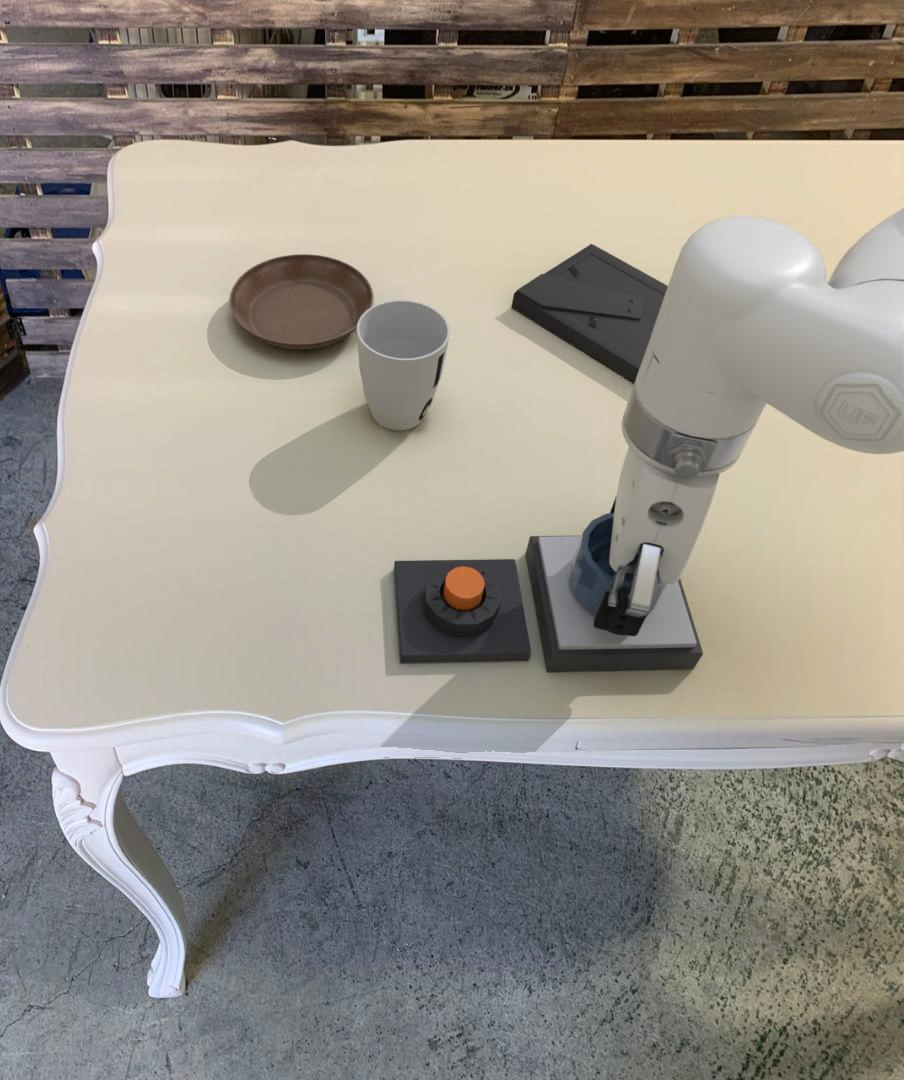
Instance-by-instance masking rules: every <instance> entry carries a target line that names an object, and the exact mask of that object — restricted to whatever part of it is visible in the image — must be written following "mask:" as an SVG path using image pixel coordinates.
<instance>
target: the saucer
mask: <svg viewBox="0 0 904 1080" xmlns="http://www.w3.org/2000/svg"><path fill="white" fill-rule="evenodd" d="M373 306H374V291H373V288H372V285H371V284H370V282H369V280H368V279H367V278H366V277H365V275H364V274H363V273H362V272H361V271H360V270H359V269H357V268H355V267H354V266H352V265H350V264H349V263H347V262H344V261H342V260H339V259H337V258H333V257H330V256H325V255H320V254H311V253H309V254H307V253H306V254H305V253H301V254H299V253H297V254H289V255H283V256H277V257H273V258H270V259H268V260H264V261H262V262H260V263H258V264H256V265H254V266H252V267H251V268H249V269H248V270H246V271H245V272H244V273H242V274H241V275H240V276H239V277H238V279H237V280H236V282H235V283H234V284H233V286H232V288H231V290H230V294H229V308H230V311H231V314H232V315H233V317H234V319H235V320H236V321H237V323H238V324H239V325H240V326H241V327H242V328H243V329H245V331H247V332H248V333H249V334H250V335H252V336H253V337H255V338H257V339H258V340H260V341H263V342H264V343H267V344H269V345H271V346H275V347H279V348H281V349H288V350H313V349H319V348H323V347H326V346H329V345H332V344H334V343H336V342H339V341H341V340H342V339H344V338H346V337H347V336H349V335H350V334H352V333H353V332H354V331H355V330H357V324H358V321H359V319H360V317H361V316H362V315H363V313H364V312H366V311H367V310H368V309H369V308H371V307H373Z"/></svg>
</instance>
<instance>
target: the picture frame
mask: <svg viewBox="0 0 904 1080" xmlns="http://www.w3.org/2000/svg"><path fill="white" fill-rule="evenodd" d="M667 288H668V285H667V284H665V283H664V282H661V281H660V280H658V279H656V278H654V277H653V276H652V275H649V274H648V273H646V272H644V271H642V270H640V269H638V268H636V267H635V266H633V265H631V264H629V263H628V262H626V261H623V260H622V259H621V258H618V257H617V256H615V255H613V254H612V253H609V252H607V251H606V250H604V249H602V248H601V247H599V246H597V245H595V244H593V243H590V244H588V245H586V247H584V248H582V249H581V250H579V251H578V252H576V253H575V254H573V255H571V256H569V257H568V258H566V259H565V260H563V261H561V262H560V263H559V264H557V265H555V266H554V267H553V268H551V269H550V270H548V271H546V272H545V273H541V274H539V275H537V276H536V277H535V278H533V279H532V280H530V281H529V282H527V283H526V284H524V285H522V286H521V287H519V288H518V289H517V290H516V291H515V292H513V296H512V303H511V306H510V307H511V309H513V310H514V311H516V312H518V313H520V314H521V315H523V316H524V317H526V318H528V319H530V320H531V321H533V322H534V323H536V324H538V325H539V326H541V327H542V328H544V329H545V330H547V331H549V332H551V333H552V334H554V335H555V336H557V337H559V338H560V339H562V340H564V341H565V342H567V343H568V344H570V345H571V346H573V347H575V348H576V349H578V350H580V351H581V352H583V353H584V354H586V355H588V356H589V357H591V358H592V359H594V360H596V361H598V362H599V363H601V364H602V365H604V366H606V367H607V368H608V369H610V370H612V371H613V372H615V373H617V374H618V375H620V376H622V377H623V378H625V379H627V380H628V381H630V382H632V383H633V384H634V383H635V380H636V377H637V375H638V372H639V369H640V366H641V363H642V360H643V357H644V355H645V352H646V349H647V346H648V343H649V340H650V338H651V335H652V331H653V328H654V325H655V323H656V320H657V317H658V314H659V311H660V308H661V305H662V302H663V299H664V296H665V293H666V290H667Z"/></svg>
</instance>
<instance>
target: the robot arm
mask: <svg viewBox="0 0 904 1080" xmlns="http://www.w3.org/2000/svg"><path fill="white" fill-rule="evenodd" d="M667 286H668V288H667V290H666V293H665V296H664V299H663V302H662V305H661V308H660V311H659V314H658V317H657V320H656V323H655V325H654V328H653V331H652V335H651V338H650V340H649V343H648V346H647V349H646V352H645V355H644V357H643V360H642V363H641V366H640V369H639V372H638V375H637V377H636V380H635V383H633V385H632V389H631V391H630V395H629V398H628V401H627V403H626V407H625V410H624V412H623V415H622V418H621V432H622V435H623V437H624V441H625V443H626V444H627V446H628V447H627V451H626V453H625V456H624V460H623V463H622V467H621V471H620V474H619V475H620V476H619V480H618V484H617V485H618V486H617V491H616V495H615V498H614V501H613V504H612V506H611V509H610V511H609V513H614V520H613V529H612V538H611V547H610V558H609V563H610V566H611V567H612V569H613V570H614V571H615V575H614V579H613V583H612V587H611V591H608V592H607V591H606V592H605V594H604V596H603V599H602V601H601V604H600V606H599V609H598V611H597V613H596V616H595V618H594V627H595V628H598V629H602V630H607V631H608V632H610V633H613V634H617V635H628V636H636V635H637V634H638V632H639V630H640V628H641V626H642V624H643V622H644V620H645V618H646V616H647V615H648V614H649V611H650V608H651V604H652V600H653V596H654V593H655V589H656V585H657V581H658V578H659V576H660V580H661V583H667V584H674V583H676V582H677V581H678V580H679V579H681V578H682V575H683V573H684V570H685V568H686V566H687V564H688V562H689V559H690V557H691V555H692V552H693V550H694V547H695V546H696V543H697V540H698V538H699V536H700V533H701V531H702V529H703V526H704V524H705V521H706V519H707V515H708V513H709V510H710V508H711V504H712V501H713V499H714V495H715V491H716V489H717V485H718V483H719V482H718V481H719V478H720V474H722V473H724V472H726V471H727V470H729V469H730V468H732V467H733V466H734V465H735V464H736V463H737V461H738V460H739V459H740V457H741V455H742V453H743V451H744V448H745V446H746V445H747V443H748V440H749V439H750V437H751V435H752V433H753V431H754V429H755V427H756V425H757V423H758V421H759V419H760V417H761V415H762V413H763V412H764V409H765V408H766V405H769V406H771V408H773V409H775V410H777V411H778V412H780V413H781V414H783V415H784V416H786V417H787V418H788V419H791V420H792V421H793V422H795V423H797V424H798V425H800V426H801V427H803V428H804V429H806V430H808V431H810V433H812V434H815V435H816V436H818V437H819V438H822V439H823V440H826V441H828V442H829V443H832V444H834V445H836V446H839V447H841V448H844V449H847V450H851V451H854V452H856V453H862V454H868V455H869V454H870V455H891V454H896V453H902V452H904V207H903V208H901V209H899V210H898V211H896V212H895V213H893V214H891V215H889V216H888V217H886V218H885V219H883V220H882V221H881V222H879V223H877V224H876V225H875V226H874V227H872V228H871V229H870V230H869V231H867V232H866V233H865V234H863V235H862V236H861V237H860V238H859V239H858V240H857V241H855V243H854V244H853V245H852V246H851V247H850V248H848V249H847V251H846V252H845V253H844V254H843V255H842V257H841V259H840V260H839V261H838V263H837V265H836V267H835V268H834V270H833V272H832V274H831V276H830V277H829V280H828V281H827V268H826V264H825V260H824V257H823V255H822V253H821V252H820V250H819V248H818V247H817V246H816V245H815V244H814V243H813V242H812V240H811V239H809V238H808V237H807V235H805V234H803V233H802V232H800V231H799V230H797V229H795V228H793V227H792V226H790V225H788V224H785V223H782V222H780V221H778V220H774V219H769V218H765V217H760V216H754V215H753V216H752V215H733V216H727V217H722V218H718V219H714V220H712V221H709V222H707V223H706V224H704V225H702V226H701V227H699V228H697V229H696V230H695V231H694V232H693V233H692V234H691V235H690V236H689V237H688V239H687V240H686V242H684V244H683V245H682V247H681V249H680V251H679V254H678V257H677V259H676V262H675V264H674V267H673V270H672V273H671V276H670V279H669V281H668V285H667ZM636 554H638V558H637V563H636V564H634V563H630V562H631V561H632V560H634V558H635V556H636ZM625 573H626V574H631V575H634V578H633V583H632V588H631V591H630V592H629V591H624V590H621V588H622V584H623V580H624V576H625Z"/></svg>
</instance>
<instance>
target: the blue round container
mask: <svg viewBox="0 0 904 1080" xmlns="http://www.w3.org/2000/svg"><path fill="white" fill-rule="evenodd" d="M613 520H614V513H610V512H609V513H605V514H603V515H600V516H598V517H596V518H594V519H592V520H591V521H590V522H589V523H588V525H587V526H586V527H585V528H584V530H583V531H582V534H581V535H580V536H581V539H580V542H579V545H578V548H577V551H576V554H575V556H574V559H573V562H572V565H571V570H570V577H569V581H570V584H571V587H572V590H573V593H574V595H575V596H576V597H577V598H578V599H579V601H580V602H581V603H582V604H583V605H584V606H585V607H586V608H587V609H589V610H591V611H592V612H594V613H597V611H598V609H599V606H600V604H601V601H602V599H603V596H604V594H605V592H606V591H607V592H608V591H611V587H612V583H613V579H614V575H615V571H614V570H613V569H612V567H611V566H610V563H609V558H610V547H611V538H612V529H613ZM637 558H638V554H636V556H635V558H634V560H632V561H631V562H630V563H634V564H636V563H637ZM633 578H634V575H631V574H626V573H625V576H624V580H623V584H622V588H621V590H624V591H629V592H630V591H631V588H632V583H633ZM666 587H667V583H661V580H660V576H659V578H658V581H657V585H656V589H655V593H654V596H653V600H652V604H651V608H650V611H649V613H650V612H651V611H653V609H654V608H655V606H656V605H657V603H658V602H659V600H660V598H661V596H662V594H663V593H664V591H665V589H666Z"/></svg>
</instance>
